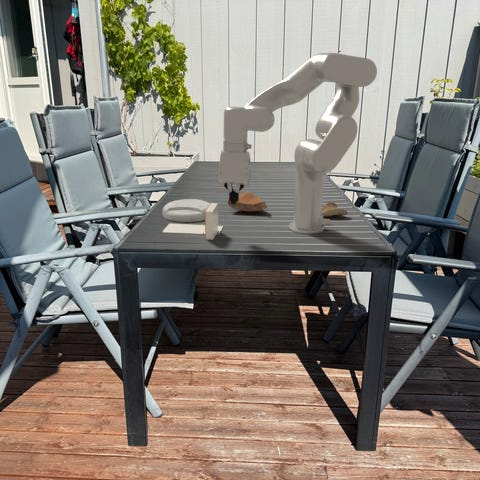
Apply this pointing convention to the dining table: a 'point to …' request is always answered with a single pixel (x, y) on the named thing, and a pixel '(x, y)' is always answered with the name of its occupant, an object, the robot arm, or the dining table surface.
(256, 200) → the ceramic shard
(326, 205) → the pottery shard
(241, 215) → the dining table surface
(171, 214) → the round ceiling alarm
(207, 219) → the glazed tile
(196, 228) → the mat
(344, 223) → the dining table surface
